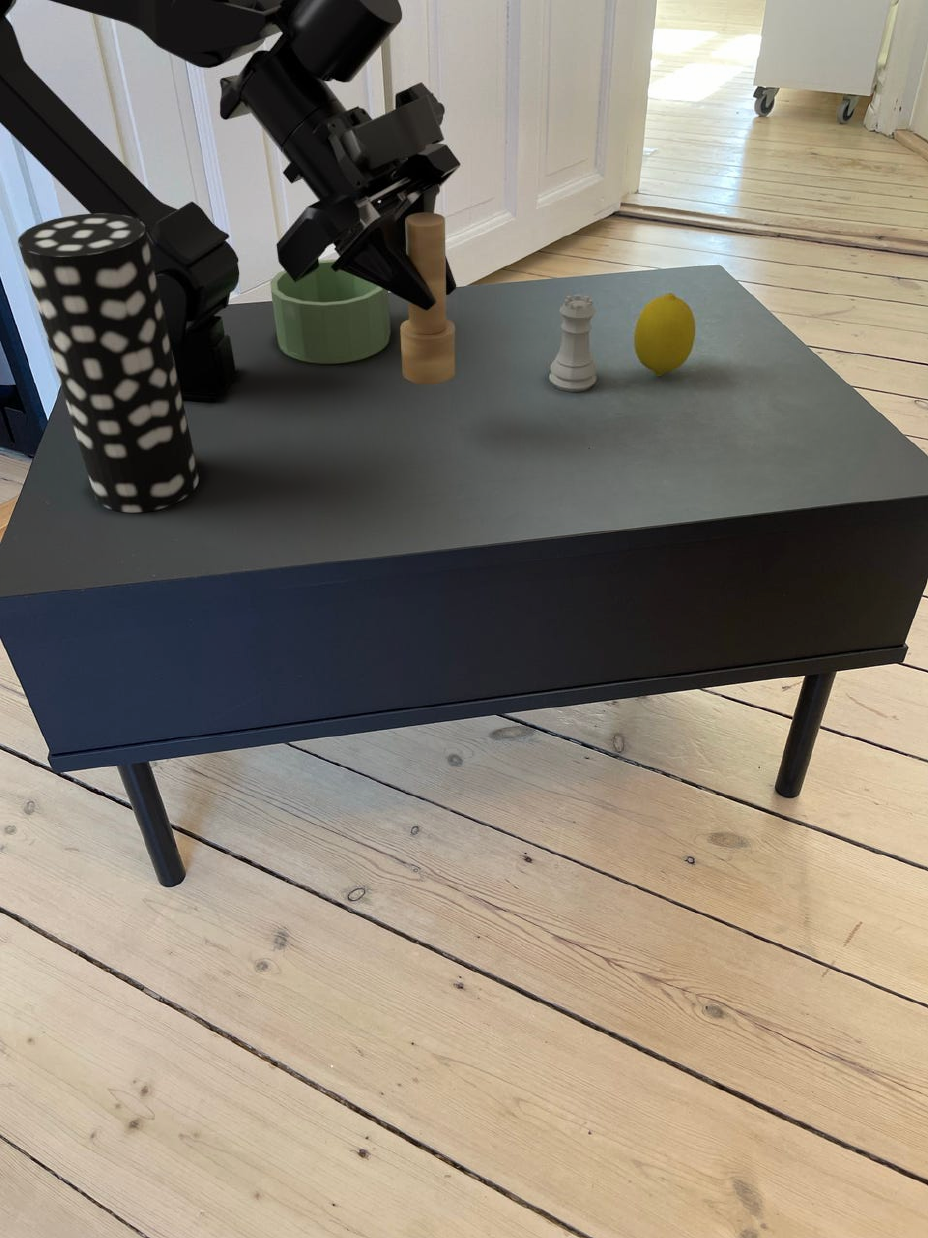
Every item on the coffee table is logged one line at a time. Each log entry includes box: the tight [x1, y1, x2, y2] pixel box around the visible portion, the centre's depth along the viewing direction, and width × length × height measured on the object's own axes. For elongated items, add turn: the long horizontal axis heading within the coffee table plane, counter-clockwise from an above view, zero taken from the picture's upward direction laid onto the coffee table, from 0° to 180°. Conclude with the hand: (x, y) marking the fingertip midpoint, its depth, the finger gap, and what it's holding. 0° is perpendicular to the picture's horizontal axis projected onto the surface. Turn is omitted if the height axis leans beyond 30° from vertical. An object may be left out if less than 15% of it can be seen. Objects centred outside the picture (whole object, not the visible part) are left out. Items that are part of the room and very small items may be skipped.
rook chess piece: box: [548, 294, 597, 393], centre depth 89 cm, size 4×4×8 cm
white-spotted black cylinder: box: [17, 213, 200, 513], centre depth 72 cm, size 8×8×20 cm
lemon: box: [633, 292, 696, 377], centre depth 90 cm, size 6×6×8 cm
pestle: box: [400, 212, 456, 386], centre depth 77 cm, size 4×4×12 cm
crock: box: [269, 259, 392, 365], centre depth 97 cm, size 11×11×6 cm
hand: (442, 299), depth 76 cm, fingers closed on pestle, 3 cm apart
